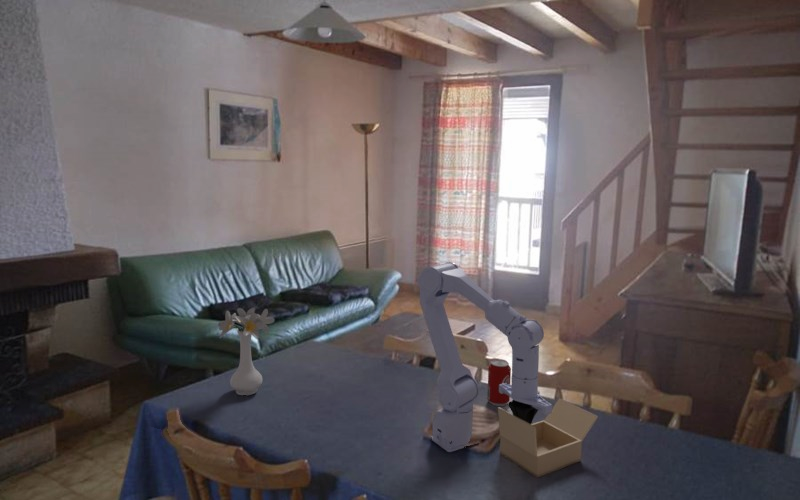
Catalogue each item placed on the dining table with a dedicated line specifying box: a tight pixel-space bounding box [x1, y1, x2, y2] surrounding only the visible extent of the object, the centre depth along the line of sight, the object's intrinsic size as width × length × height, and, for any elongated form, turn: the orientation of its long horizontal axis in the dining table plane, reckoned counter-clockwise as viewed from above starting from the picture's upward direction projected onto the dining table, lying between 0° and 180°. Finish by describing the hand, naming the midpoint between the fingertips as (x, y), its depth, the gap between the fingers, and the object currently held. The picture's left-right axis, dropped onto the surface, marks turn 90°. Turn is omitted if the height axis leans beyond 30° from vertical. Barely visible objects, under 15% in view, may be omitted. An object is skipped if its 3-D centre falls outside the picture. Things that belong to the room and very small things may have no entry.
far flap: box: [543, 397, 599, 442], centre depth 132 cm, size 7×12×1 cm
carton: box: [499, 419, 583, 479], centre depth 128 cm, size 14×12×5 cm
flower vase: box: [217, 307, 275, 396], centre depth 162 cm, size 13×18×25 cm
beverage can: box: [486, 359, 512, 407], centre depth 157 cm, size 6×6×12 cm
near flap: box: [497, 406, 537, 457], centre depth 123 cm, size 7×12×1 cm
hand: (523, 433), depth 124 cm, fingers closed, pressing on near flap
